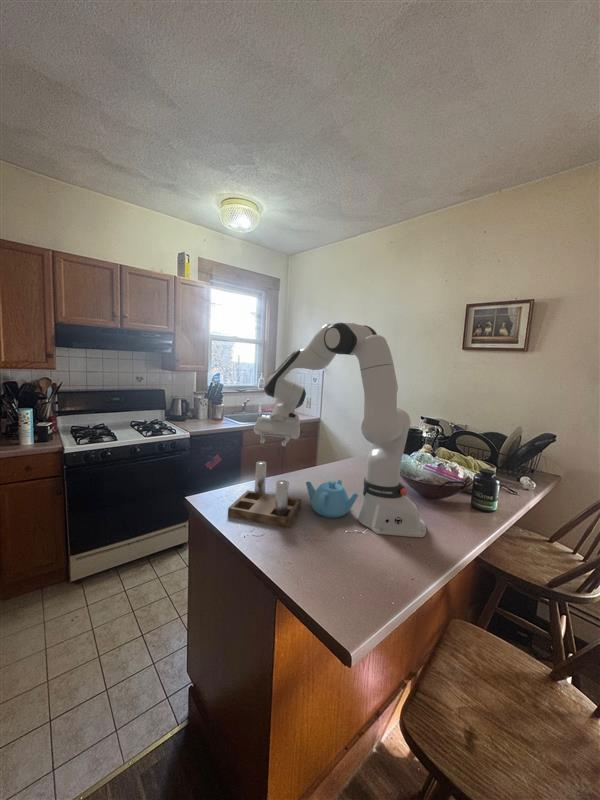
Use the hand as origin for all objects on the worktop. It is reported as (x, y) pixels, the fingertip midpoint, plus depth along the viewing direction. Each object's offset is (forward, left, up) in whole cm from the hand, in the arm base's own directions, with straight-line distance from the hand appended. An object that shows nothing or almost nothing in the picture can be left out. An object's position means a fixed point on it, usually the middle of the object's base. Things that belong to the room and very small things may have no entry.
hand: (272, 443), depth 135 cm
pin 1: (0, +12, -18) cm, 22 cm away
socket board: (-7, +24, -18) cm, 31 cm away
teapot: (-28, +14, -18) cm, 36 cm away
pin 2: (-14, +28, -18) cm, 36 cm away
